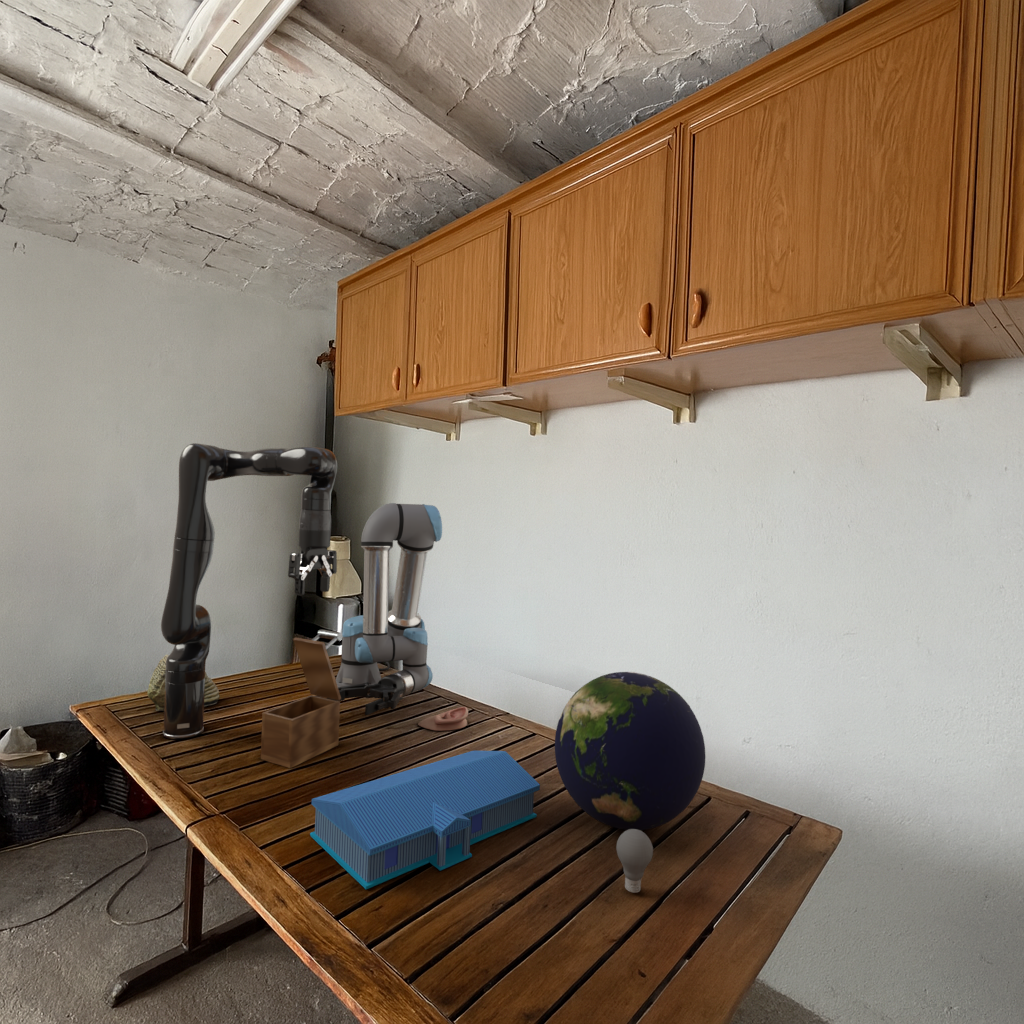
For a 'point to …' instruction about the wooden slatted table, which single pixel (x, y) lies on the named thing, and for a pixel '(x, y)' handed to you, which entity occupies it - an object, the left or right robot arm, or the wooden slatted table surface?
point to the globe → (630, 751)
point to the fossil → (158, 687)
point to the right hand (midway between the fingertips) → (346, 705)
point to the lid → (318, 664)
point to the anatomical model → (446, 720)
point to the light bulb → (634, 857)
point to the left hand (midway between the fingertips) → (312, 593)
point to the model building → (423, 815)
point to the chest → (300, 730)
